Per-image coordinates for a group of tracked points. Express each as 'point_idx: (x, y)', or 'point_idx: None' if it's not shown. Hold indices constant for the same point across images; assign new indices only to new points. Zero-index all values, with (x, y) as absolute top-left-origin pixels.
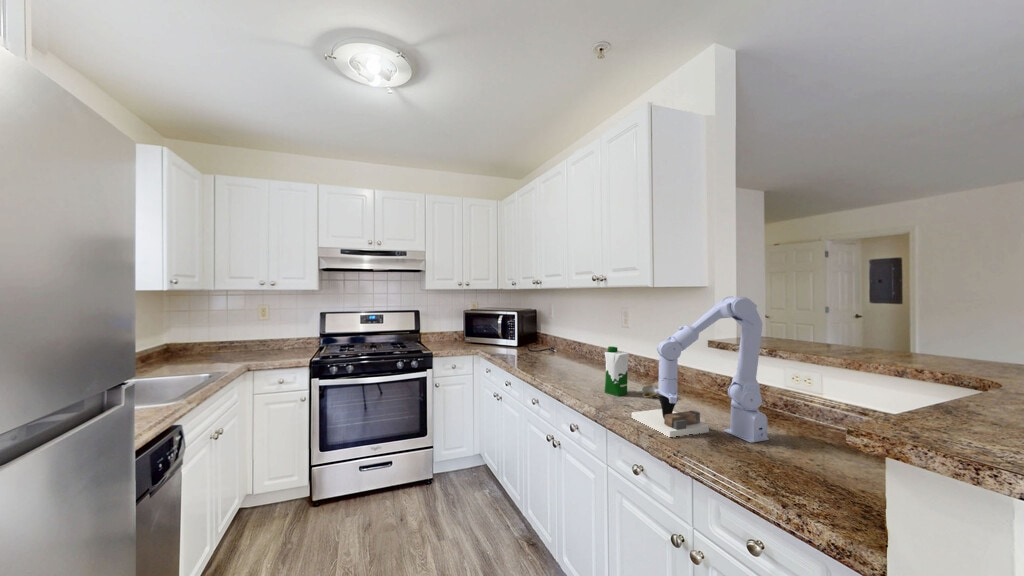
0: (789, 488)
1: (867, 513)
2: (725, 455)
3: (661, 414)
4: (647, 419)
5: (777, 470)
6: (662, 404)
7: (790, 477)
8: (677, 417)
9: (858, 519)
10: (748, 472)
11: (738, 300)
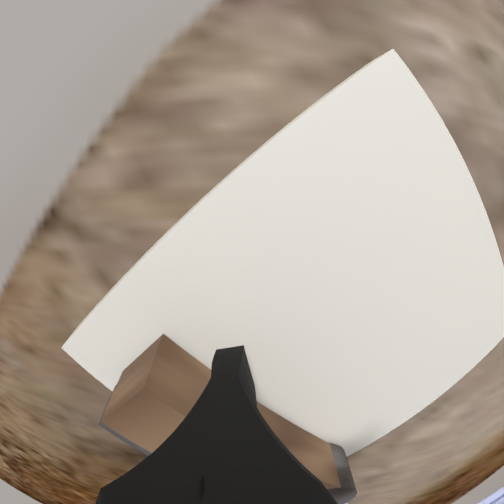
0: (20, 470)
1: (35, 498)
2: (70, 453)
3: (423, 305)
4: (240, 189)
5: (78, 494)
6: (149, 460)
7: (65, 493)
8: (154, 450)
9: (12, 483)
10: (20, 450)
11: None
